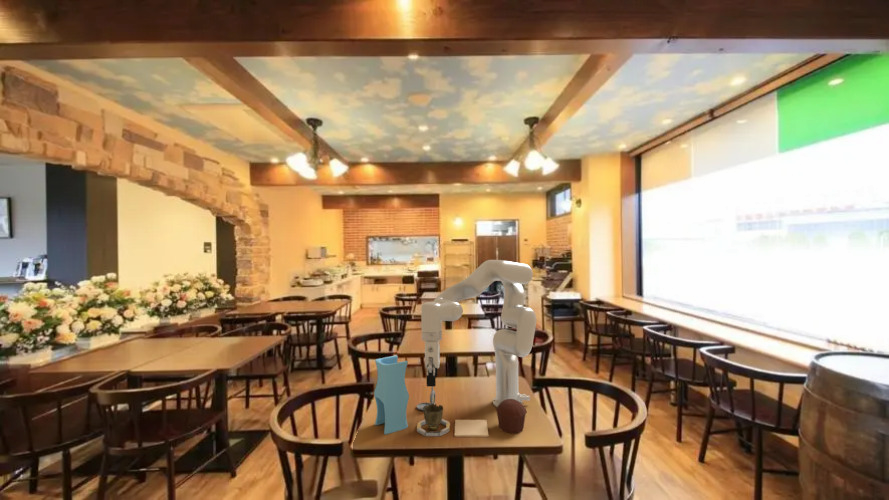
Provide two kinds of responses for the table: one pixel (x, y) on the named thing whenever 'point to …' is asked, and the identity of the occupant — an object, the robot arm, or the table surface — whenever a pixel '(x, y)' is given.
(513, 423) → the muffin
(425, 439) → the table surface
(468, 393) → the table surface
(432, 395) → the pocket watch
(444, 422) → the socket ring
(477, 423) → the cork mat
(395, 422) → the vase
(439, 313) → the robot arm
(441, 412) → the cup
